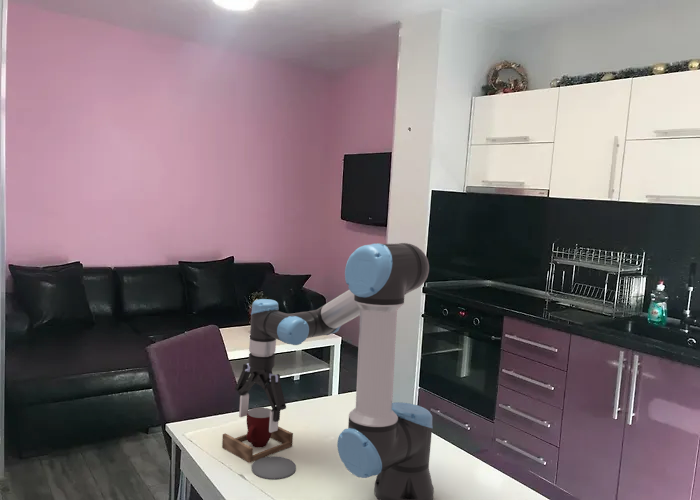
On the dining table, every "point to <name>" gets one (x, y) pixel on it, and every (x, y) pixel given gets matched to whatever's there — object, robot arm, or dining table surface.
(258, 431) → the mug
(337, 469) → the dining table surface
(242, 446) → the wooden tray frame
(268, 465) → the coaster
